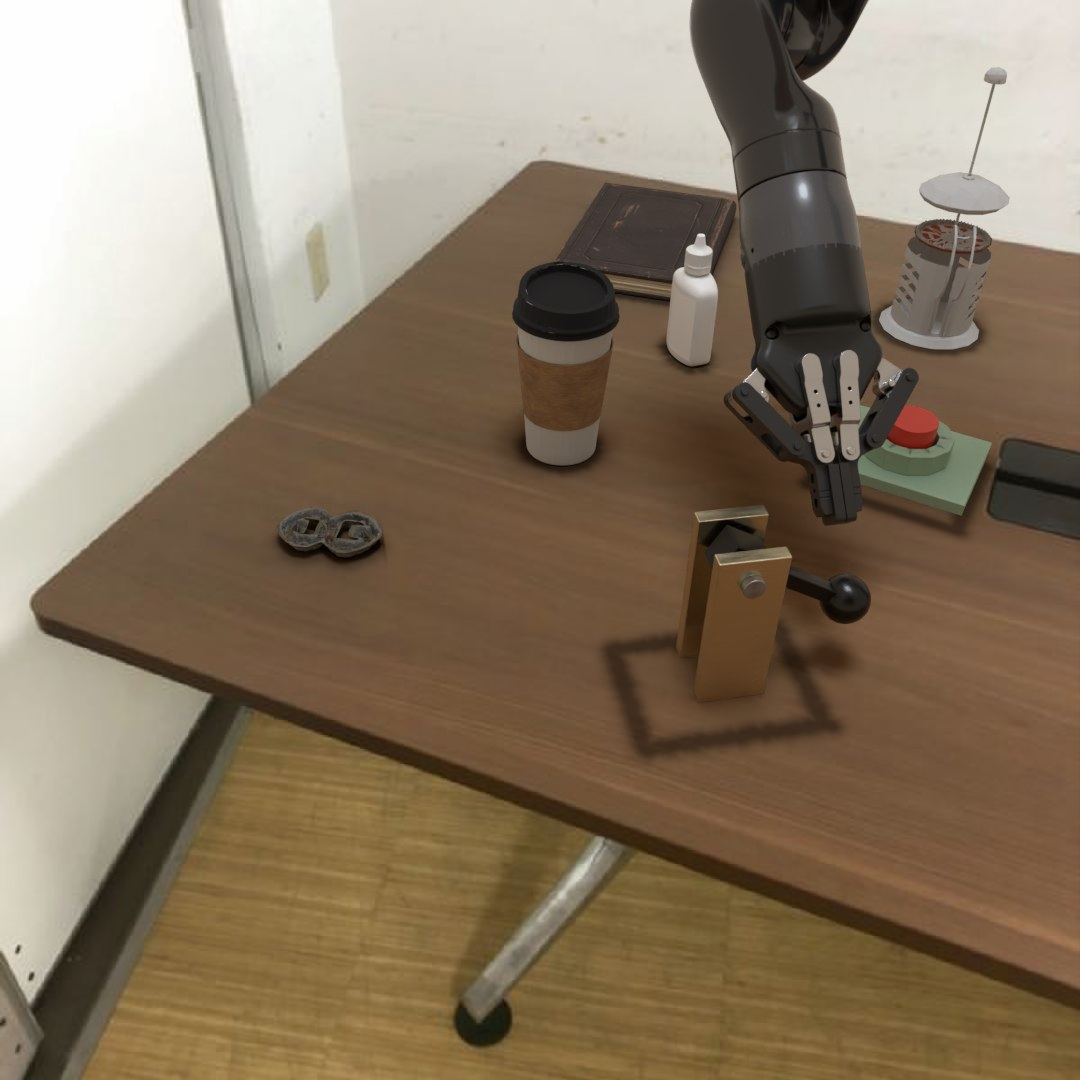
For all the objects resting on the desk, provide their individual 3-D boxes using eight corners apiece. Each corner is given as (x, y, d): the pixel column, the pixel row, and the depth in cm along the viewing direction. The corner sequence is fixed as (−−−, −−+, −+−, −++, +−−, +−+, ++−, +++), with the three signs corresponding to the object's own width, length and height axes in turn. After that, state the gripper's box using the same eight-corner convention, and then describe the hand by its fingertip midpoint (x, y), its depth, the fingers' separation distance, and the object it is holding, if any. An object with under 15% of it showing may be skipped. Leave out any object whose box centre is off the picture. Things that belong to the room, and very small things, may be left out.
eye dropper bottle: (662, 365, 106) (674, 246, 98) (666, 336, 110) (678, 220, 102) (709, 370, 105) (724, 250, 98) (711, 340, 109) (726, 224, 102)
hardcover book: (551, 283, 118) (552, 262, 117) (603, 200, 135) (604, 182, 134) (700, 306, 115) (703, 285, 114) (735, 218, 132) (737, 199, 131)
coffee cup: (598, 414, 99) (608, 256, 89) (620, 470, 92) (633, 306, 83) (504, 422, 98) (504, 262, 88) (520, 479, 91) (521, 313, 82)
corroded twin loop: (289, 513, 87) (287, 502, 86) (390, 523, 86) (389, 512, 86) (269, 554, 83) (267, 543, 82) (374, 565, 82) (373, 554, 82)
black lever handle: (837, 606, 74) (868, 572, 72) (856, 639, 72) (889, 605, 70) (697, 552, 68) (728, 513, 67) (712, 586, 66) (745, 547, 65)
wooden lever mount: (778, 626, 78) (810, 479, 70) (827, 722, 72) (868, 572, 64) (612, 646, 77) (625, 498, 68) (646, 747, 70) (664, 595, 62)
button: (939, 432, 91) (944, 413, 90) (927, 456, 89) (932, 437, 88) (891, 418, 93) (895, 400, 92) (877, 441, 90) (882, 423, 89)
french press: (973, 307, 116) (1047, 55, 100) (987, 363, 107) (1072, 96, 91) (876, 298, 117) (934, 47, 101) (882, 353, 108) (948, 87, 92)
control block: (985, 464, 94) (998, 424, 92) (957, 528, 87) (970, 487, 85) (846, 423, 99) (855, 384, 96) (810, 481, 92) (818, 441, 89)
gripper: (722, 245, 68) (762, 527, 66) (924, 231, 70) (967, 505, 69) (688, 286, 75) (723, 540, 74) (871, 272, 77) (909, 519, 76)
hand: (840, 523), depth 71 cm, fingers closed
